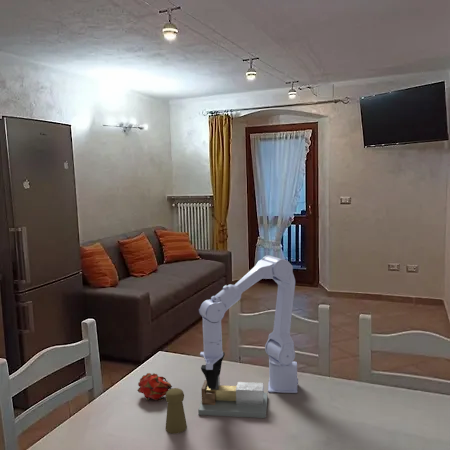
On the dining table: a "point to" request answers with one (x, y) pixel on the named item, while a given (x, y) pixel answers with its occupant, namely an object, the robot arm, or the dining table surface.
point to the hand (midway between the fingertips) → (214, 382)
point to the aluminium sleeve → (249, 394)
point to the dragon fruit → (153, 386)
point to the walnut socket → (207, 396)
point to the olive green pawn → (175, 411)
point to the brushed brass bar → (223, 391)
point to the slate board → (234, 409)
